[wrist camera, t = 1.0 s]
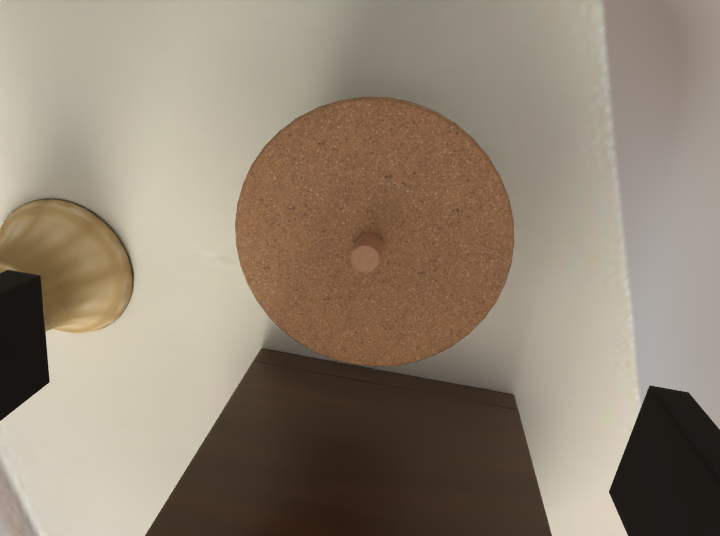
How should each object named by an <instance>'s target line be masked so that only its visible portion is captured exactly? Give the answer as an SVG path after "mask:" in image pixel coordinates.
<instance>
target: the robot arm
mask: <svg viewBox="0 0 720 536" xmlns="http://www.w3.org/2000/svg"><path fill="white" fill-rule="evenodd" d="M48 383H49V371H48V359H47V347H46V335H45V323H44V311H43V299H42V287H41V275H35V274H30V273H24V272H19V271H13V270H6V271H4V272H1V273H0V421H1V420H2V419H3V418H5V417H6V416H7V415H8V414H10V413H11V412H12V411H13V410H15V409H16V408H17V407H18V406H20V405H21V404H22V403H24V402H25V401H26V400H27V399H29V398H30V397H31V396H32V395H34V394H35V393H36V392H38V391H39V390H40V389H41V388H43V387H44V386H45V385H46V384H48ZM609 493H610V495H611V498H612V500H613V502H614V505H615V507H616V509H617V511H618V514H619V516H620V518H621V521H622V523H623V525H624V527H625V530H626V532H627V534H628V536H720V430H719V429H718V427H717V426H716V425H715V424H714V422H713V421H712V420H711V419H710V418H709V417H708V415H707V414H706V413H705V412H704V411H703V409H702V408H701V407H700V406H699V405H698V403H697V402H696V401H695V400H694V399H693V397H692V396H691V395H690V394H689V393H688V392H682V391H677V390H671V389H666V388H660V387H655V386H649V389H648V391H647V394H646V397H645V399H644V402H643V404H642V407H641V409H640V412H639V415H638V417H637V420H636V423H635V425H634V428H633V430H632V433H631V436H630V438H629V441H628V443H627V446H626V449H625V451H624V454H623V457H622V459H621V462H620V464H619V467H618V470H617V472H616V475H615V477H614V480H613V483H612V485H611V488H610V491H609Z"/></svg>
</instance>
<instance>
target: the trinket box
mask: <svg viewBox="0 0 720 536" xmlns="http://www.w3.org/2000/svg"><path fill="white" fill-rule="evenodd" d="M235 229H236V246H237V250H238V255H239V260H240V265H241V267H242V270H243V273H244V275H245V278H246V281H247V283H248V285H249V287H250V289H251V291H252V293H253V294H254V296H255V298H256V300H257V302H258V303H259V304H260V305H261V307H262V308H263V309H264V311H265V312H266V313H267V315H268V316H269V317H270V318H271V319H272V320H273V321H274V322H275V323H276V324H277V325H278V326H279V327H280V328H281V329H282V330H283V331H284V332H285V333H287V334H288V335H289V336H291V337H292V338H293V339H295V340H296V341H297V342H299V343H300V344H302V345H304V346H306V347H307V348H309V349H311V350H313V351H315V352H317V353H319V354H321V355H324V356H327V357H329V358H332V359H335V360H338V361H342V362H346V363H351V364H355V365H365V366H396V365H401V364H406V363H412V362H416V361H419V360H422V359H425V358H428V357H431V356H434V355H436V354H438V353H440V352H442V351H444V350H445V349H447V348H449V347H451V346H453V345H454V344H456V343H457V342H458V341H460V340H461V339H463V338H464V337H465V336H467V335H468V334H469V333H470V332H471V331H472V330H473V329H474V328H475V327H476V326H477V325H478V324H479V323H480V322H481V321H482V320H483V319H484V318H485V317H486V315H487V314H488V312H489V311H490V310H491V308H492V307H493V306H494V304H495V303H496V301H497V299H498V297H499V295H500V293H501V291H502V289H503V287H504V285H505V282H506V279H507V276H508V273H509V270H510V266H511V262H512V255H513V248H514V221H513V216H512V211H511V206H510V201H509V197H508V195H507V192H506V190H505V187H504V185H503V182H502V179H501V177H500V175H499V174H498V172H497V170H496V169H495V167H494V165H493V164H492V162H491V160H490V159H489V157H488V156H487V154H486V153H485V152H484V151H483V150H482V149H481V147H480V146H479V145H478V144H477V143H476V142H475V140H474V139H473V138H472V137H471V136H470V135H468V134H467V133H466V132H465V131H464V130H462V129H461V128H460V127H459V126H458V125H456V124H455V123H454V122H452V121H451V120H449V119H447V118H445V117H444V116H442V115H440V114H439V113H437V112H435V111H433V110H431V109H428V108H425V107H423V106H420V105H418V104H415V103H412V102H408V101H403V100H398V99H393V98H382V97H361V98H354V99H346V100H340V101H337V102H334V103H331V104H327V105H324V106H321V107H318V108H316V109H314V110H312V111H310V112H308V113H306V114H304V115H302V116H300V117H298V118H297V119H295V120H294V121H292V122H291V123H290V124H288V125H287V126H286V127H284V128H283V129H282V130H280V131H279V132H278V133H277V134H276V135H275V136H274V137H273V138H272V139H271V140H270V141H269V142H268V143H267V144H266V146H265V147H264V148H263V149H262V151H261V152H260V154H259V155H258V157H257V158H256V160H255V161H254V162H253V164H252V166H251V168H250V170H249V172H248V174H247V177H246V179H245V181H244V183H243V186H242V190H241V193H240V197H239V201H238V204H237V213H236V223H235Z"/></svg>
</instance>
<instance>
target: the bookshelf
mask: <svg viewBox="0 0 720 536" xmlns="http://www.w3.org/2000/svg"><path fill="white" fill-rule="evenodd" d="M145 536H552V535H551V531H550V527H549V524H548V520H547V516H546V512H545V509H544V505H543V501H542V497H541V494H540V490H539V486H538V482H537V479H536V475H535V471H534V467H533V464H532V460H531V456H530V453H529V449H528V445H527V441H526V438H525V434H524V430H523V426H522V423H521V419H520V415H519V411H518V408H517V404H516V400H515V397H514V395H511V394H506V393H500V392H495V391H489V390H484V389H478V388H473V387H467V386H462V385H456V384H451V383H446V382H440V381H435V380H429V379H424V378H418V377H413V376H407V375H402V374H396V373H391V372H385V371H380V370H374V369H369V368H363V367H358V366H352V365H347V364H342V363H336V362H331V361H325V360H320V359H314V358H309V357H303V356H298V355H292V354H287V353H281V352H276V351H270V350H265V349H261V350H260V351H259V353H258V355H257V356H256V358H255V359H254V361H253V363H252V364H251V366H250V367H249V369H248V371H247V372H246V374H245V375H244V377H243V379H242V380H241V382H240V383H239V385H238V387H237V388H236V390H235V392H234V393H233V395H232V396H231V398H230V400H229V401H228V403H227V404H226V406H225V408H224V409H223V411H222V413H221V414H220V416H219V417H218V419H217V421H216V422H215V424H214V425H213V427H212V429H211V430H210V432H209V433H208V435H207V437H206V438H205V440H204V442H203V443H202V445H201V446H200V448H199V450H198V451H197V453H196V454H195V456H194V458H193V459H192V461H191V462H190V464H189V466H188V467H187V469H186V471H185V472H184V474H183V475H182V477H181V479H180V480H179V482H178V483H177V485H176V487H175V488H174V490H173V492H172V493H171V495H170V496H169V498H168V500H167V501H166V503H165V504H164V506H163V508H162V509H161V511H160V512H159V514H158V516H157V517H156V519H155V521H154V522H153V524H152V525H151V527H150V529H149V530H148V532H147V533H146V535H145Z"/></svg>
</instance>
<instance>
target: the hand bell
mask: <svg viewBox="0 0 720 536" xmlns="http://www.w3.org/2000/svg"><path fill="white" fill-rule="evenodd" d="M6 270H13V271H19V272H24V273H30V274H35V275H41V287H42V299H43V311H44V323H45V331H47V330H50V329H56V330H60V331H65V332H71V333H82V332H92V331H96V330H99V329H102V328H105V327H106V326H108V325H110V324H111V323H113V322H114V321H115V320H116V319H118V318H119V317H120V316H121V314H122V313H123V312H124V310H125V309H126V307H127V305H128V303H129V300H130V297H131V293H132V284H133V280H132V270H131V266H130V262H129V259H128V256H127V254H126V252H125V249H124V247H123V246H122V244H121V242H120V241H119V239H118V238H117V236H116V235H115V233H114V232H113V231H112V230H111V229H110V228H109V227H108V226H107V225H106V224H105V223H104V222H103V221H102V220H101V219H99V218H98V217H97V216H95V215H94V214H93V213H91V212H90V211H88V210H86V209H85V208H83V207H81V206H78V205H76V204H73V203H70V202H67V201H62V200H55V199H45V200H36V201H32V202H29V203H26V204H24V205H22V206H21V207H19V208H17V209H16V210H14V211H13V212H12V213H11V214H10V215H9V216H8V217H7V219H6V220H5V221H4V223H3V225H2V227H1V228H0V273H1V272H4V271H6Z"/></svg>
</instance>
